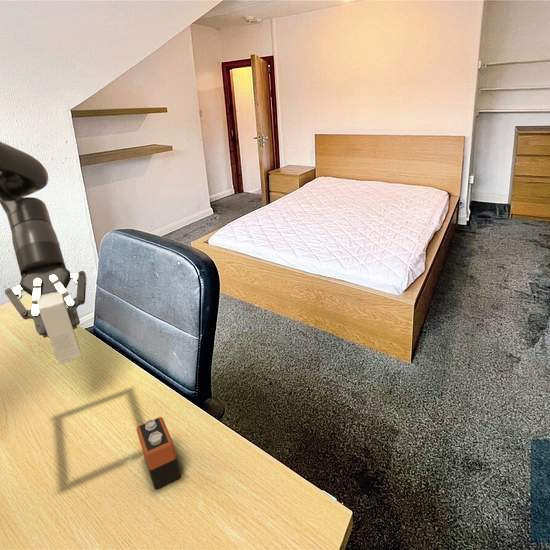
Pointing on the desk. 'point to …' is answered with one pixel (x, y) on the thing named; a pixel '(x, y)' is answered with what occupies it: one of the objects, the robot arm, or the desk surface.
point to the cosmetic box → (59, 327)
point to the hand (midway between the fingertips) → (60, 331)
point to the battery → (159, 452)
